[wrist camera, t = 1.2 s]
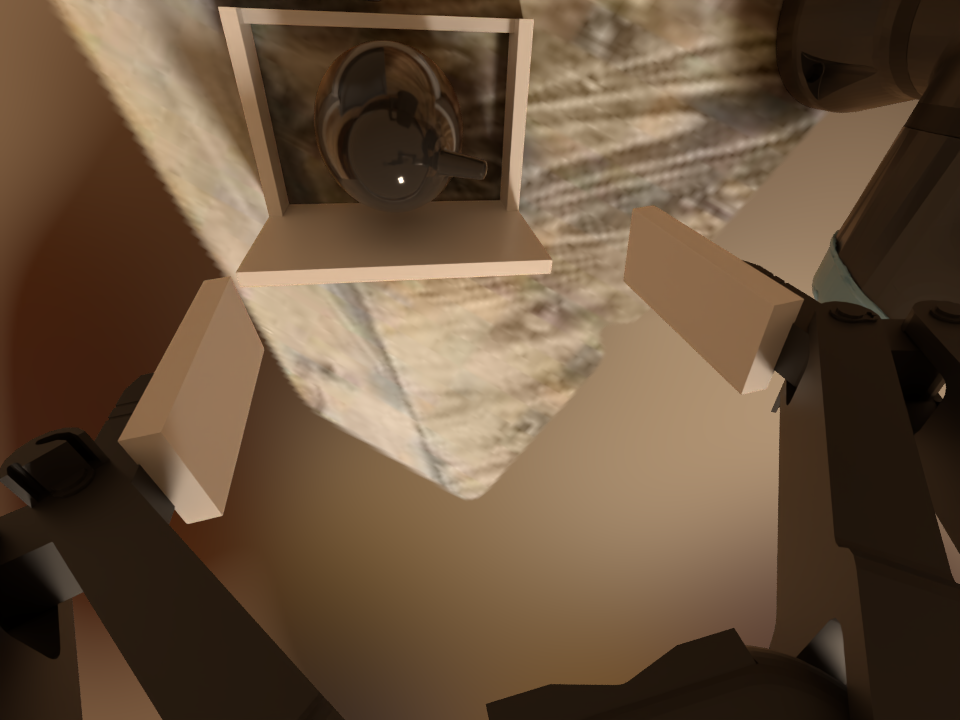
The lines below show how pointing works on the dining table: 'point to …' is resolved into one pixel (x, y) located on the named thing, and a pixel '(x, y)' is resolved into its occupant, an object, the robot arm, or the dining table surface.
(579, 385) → the dining table surface
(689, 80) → the dining table surface
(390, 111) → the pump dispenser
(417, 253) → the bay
